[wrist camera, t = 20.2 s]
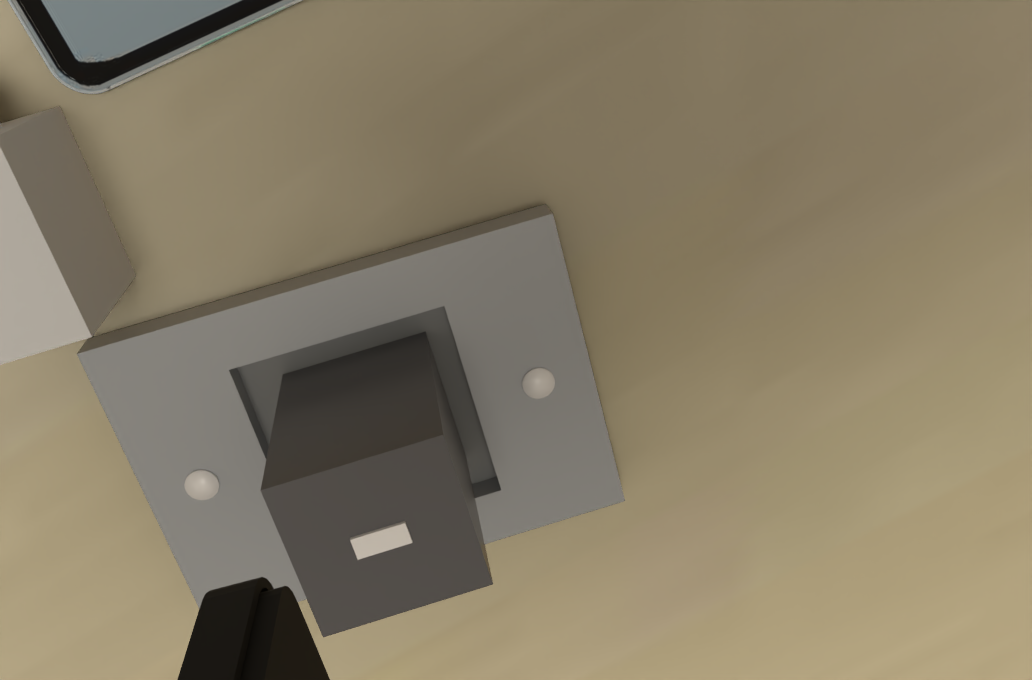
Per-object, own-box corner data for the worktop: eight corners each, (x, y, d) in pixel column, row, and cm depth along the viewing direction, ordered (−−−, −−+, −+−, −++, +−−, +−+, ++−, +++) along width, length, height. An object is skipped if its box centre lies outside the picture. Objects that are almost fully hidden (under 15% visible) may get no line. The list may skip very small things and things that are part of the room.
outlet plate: (545, 203, 29) (553, 214, 28) (616, 482, 33) (625, 502, 32) (88, 338, 28) (76, 355, 27) (214, 606, 32) (208, 631, 31)
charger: (425, 331, 30) (443, 436, 23) (466, 456, 31) (493, 586, 25) (282, 374, 29) (260, 492, 23) (331, 497, 31) (322, 639, 25)
